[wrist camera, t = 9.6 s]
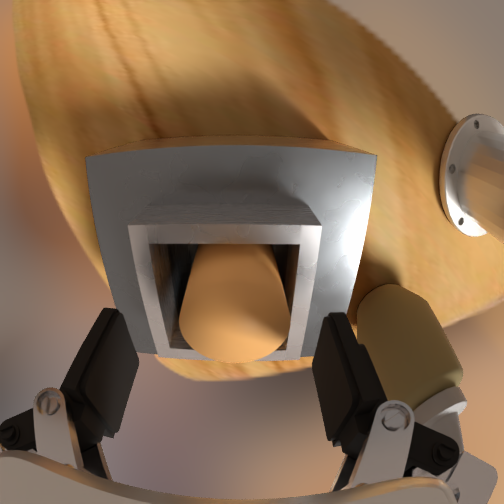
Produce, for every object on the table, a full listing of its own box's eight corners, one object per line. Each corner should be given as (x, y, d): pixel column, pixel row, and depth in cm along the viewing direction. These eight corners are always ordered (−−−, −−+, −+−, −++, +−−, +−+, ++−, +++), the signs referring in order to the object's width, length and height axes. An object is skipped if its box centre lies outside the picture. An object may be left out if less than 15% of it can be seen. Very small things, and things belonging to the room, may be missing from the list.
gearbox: (329, 140, 19) (403, 165, 9) (312, 288, 24) (342, 382, 15) (140, 140, 18) (56, 167, 9) (157, 287, 24) (121, 378, 15)
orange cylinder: (270, 203, 18) (298, 278, 10) (266, 264, 20) (285, 362, 12) (200, 203, 17) (170, 278, 9) (203, 265, 19) (185, 362, 11)
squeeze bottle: (351, 277, 24) (439, 459, 8) (421, 269, 24) (523, 406, 8) (340, 339, 28) (388, 493, 12) (403, 328, 28) (468, 457, 12)
